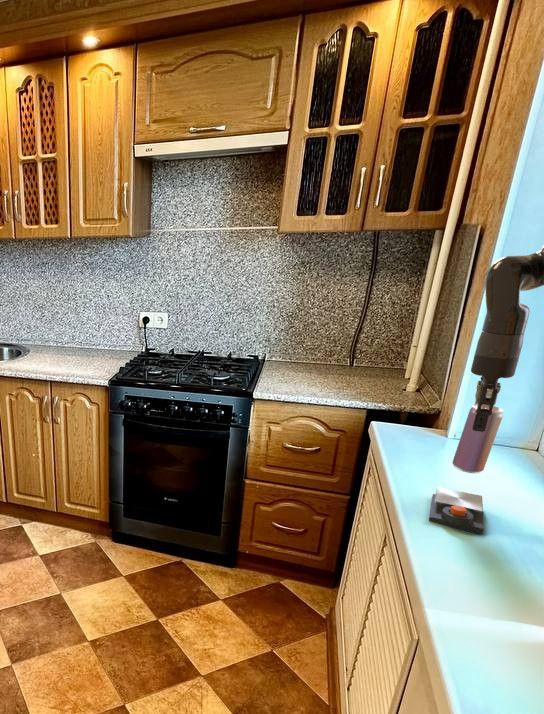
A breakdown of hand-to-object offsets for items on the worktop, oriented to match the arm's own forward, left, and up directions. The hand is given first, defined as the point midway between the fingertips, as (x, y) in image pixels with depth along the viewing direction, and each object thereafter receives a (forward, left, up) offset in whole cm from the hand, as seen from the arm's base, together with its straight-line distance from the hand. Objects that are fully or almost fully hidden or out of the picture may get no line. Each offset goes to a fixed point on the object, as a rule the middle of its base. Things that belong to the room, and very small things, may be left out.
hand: (478, 426), depth 119 cm
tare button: (+4, +6, -19) cm, 20 cm away
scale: (+1, +2, -22) cm, 22 cm away
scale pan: (0, 0, -19) cm, 19 cm away
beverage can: (0, 0, -11) cm, 11 cm away
